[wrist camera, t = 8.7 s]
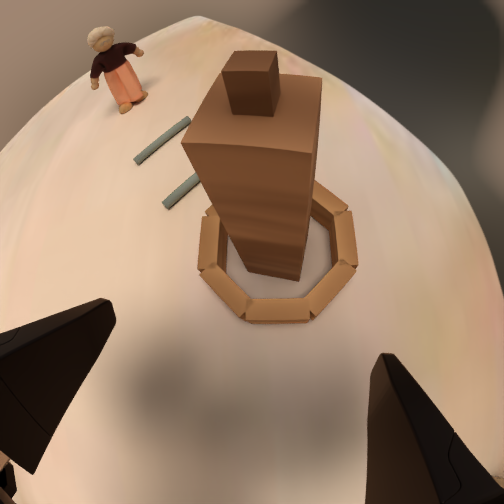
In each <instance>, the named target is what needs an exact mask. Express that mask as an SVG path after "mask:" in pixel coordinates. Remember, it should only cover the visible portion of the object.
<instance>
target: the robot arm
mask: <svg viewBox="0 0 504 504" xmlns="http://www.w3.org/2000/svg"><path fill="white" fill-rule="evenodd" d="M115 324H116V316H115V313H114V309H113V305H112V303H111V301H110V300H107V299H104V298H99V299H96V300H93V301H90V302H88V303H85V304H82V305H79V306H76V307H73V308H71V309H68V310H65V311H62V312H60V313H57V314H54V315H51V316H48V317H46V318H43V319H40V320H37V321H34V322H32V323H29V324H26V325H23V326H21V327H18V328H15V329H12V330H9V331H6V332H4V333H0V504H16V503H15V502H14V501H13V500H12V497H13V496H14V494H15V493H16V491H17V487H16V482H15V475H14V468H13V465H12V464H11V463H10V462H9V461H10V459H11V460H13V461H14V462H15V463H17V464H18V465H19V466H21V467H22V468H23V469H25V470H26V471H27V472H29V473H30V474H32V475H33V474H34V473H35V471H36V469H37V467H38V465H39V462H40V460H41V458H42V456H43V454H44V452H45V450H46V448H47V446H48V444H49V442H50V440H51V438H52V436H53V434H54V432H55V430H56V428H57V427H58V425H59V423H60V421H61V419H62V417H63V416H64V414H65V412H66V410H67V409H68V407H69V405H70V403H71V402H72V400H73V398H74V396H75V395H76V393H77V391H78V390H79V388H80V386H81V385H82V383H83V381H84V380H85V378H86V376H87V375H88V373H89V371H90V370H91V368H92V367H93V365H94V363H95V362H96V360H97V359H98V357H99V355H100V353H101V351H102V349H103V347H104V345H105V343H106V342H107V340H108V338H109V336H110V334H111V332H112V330H113V328H114V326H115ZM367 437H368V448H367V482H366V497H365V504H504V488H503V487H501V486H500V485H499V484H498V483H497V482H496V480H495V479H494V478H493V477H492V476H491V475H490V474H489V472H488V471H487V470H486V469H485V468H484V467H483V466H482V465H481V463H480V462H479V461H478V460H477V459H476V458H475V456H474V455H473V454H472V453H471V452H470V450H469V449H468V448H467V447H466V445H465V444H464V443H463V441H462V440H461V439H460V437H459V436H458V435H457V433H456V432H454V429H453V428H452V427H451V425H450V424H449V423H448V421H447V420H446V419H445V417H444V416H443V415H442V413H441V412H440V411H439V409H438V408H437V407H436V406H435V404H434V403H433V402H432V400H431V399H430V398H429V397H428V395H427V394H426V393H425V392H424V390H423V389H422V388H421V386H420V385H419V384H418V383H417V381H416V380H415V379H414V378H413V377H412V375H411V374H410V373H409V372H408V370H407V369H406V368H405V367H404V365H403V364H402V363H401V362H400V361H399V359H398V358H397V357H396V356H395V355H394V354H392V353H381V354H380V355H379V357H378V359H377V361H376V363H375V365H374V367H373V369H372V372H371V376H370V391H369V406H368V418H367Z"/></svg>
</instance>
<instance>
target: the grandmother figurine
mask: <svg viewBox="0 0 504 504" xmlns="http://www.w3.org/2000/svg"><path fill="white" fill-rule="evenodd" d="M113 37H114V30H113V29H111V28H110V27H108V26H106V27H99V28H95V29H94V30H92V32H90V33H89V35H88V38H87V41H88V45H89V46H90V47H91V49H92V48H93V49H94V50H95V51H97V52H100V53H99V54H98V55H97V56H96V57H95V58H94V61H93V64H92V69H91V74H90V78H91V83H92V85H91V88H92V89H93V90H96V89H97V88H98V87H99V83H98V81H99V76H100V74H101V73H102V71H103V72H104V76H105V79H106V82H107V84H108V86H109V88H110V91H111V93H112V95H113V96H114V98H115V100H116V102H117V104H118V105H120V106H119V112H120V113H121V114H123V113H126V112H127V111H129V110H130V109H131V108H132V106H133V105H132V103H131V102H134V101H135V102H139V101H141V100H143V99H144V98H146V97H147V95H148V93H147V92H146V91H141V89H142V87H141V85H140V82H139V80H138V78H137V76H136V74H135V72H134V70H133V68H132V66H131V64H130V63H129V61H128V60H127V59H126V58H125V55H128V54H135V55H136V56H137V57H141V56H143V54H144V51H143V50H140V49H139V48H138V47H137V46H136V44H132V43H118V44H114V45H112V44H113V41H114V39H113Z"/></svg>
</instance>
